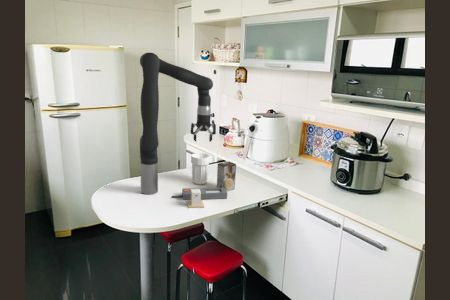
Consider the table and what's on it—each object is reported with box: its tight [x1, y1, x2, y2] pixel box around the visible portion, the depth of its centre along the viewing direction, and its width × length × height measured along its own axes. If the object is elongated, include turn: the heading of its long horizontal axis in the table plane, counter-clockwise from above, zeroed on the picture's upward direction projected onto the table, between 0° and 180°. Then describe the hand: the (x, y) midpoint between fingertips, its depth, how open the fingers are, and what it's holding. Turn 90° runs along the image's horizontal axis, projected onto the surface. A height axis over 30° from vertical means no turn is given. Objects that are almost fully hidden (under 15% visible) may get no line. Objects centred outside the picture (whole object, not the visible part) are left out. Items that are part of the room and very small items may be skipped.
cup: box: [190, 152, 211, 186], centre depth 198 cm, size 11×11×17 cm
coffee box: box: [216, 161, 237, 193], centre depth 189 cm, size 9×6×16 cm
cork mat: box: [186, 200, 205, 209], centre depth 170 cm, size 8×8×1 cm
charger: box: [191, 189, 201, 205], centre depth 169 cm, size 5×5×7 cm
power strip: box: [171, 187, 228, 201], centre depth 179 cm, size 30×8×4 cm, turn 102°
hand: (202, 141), depth 186 cm, fingers open, 8 cm apart
